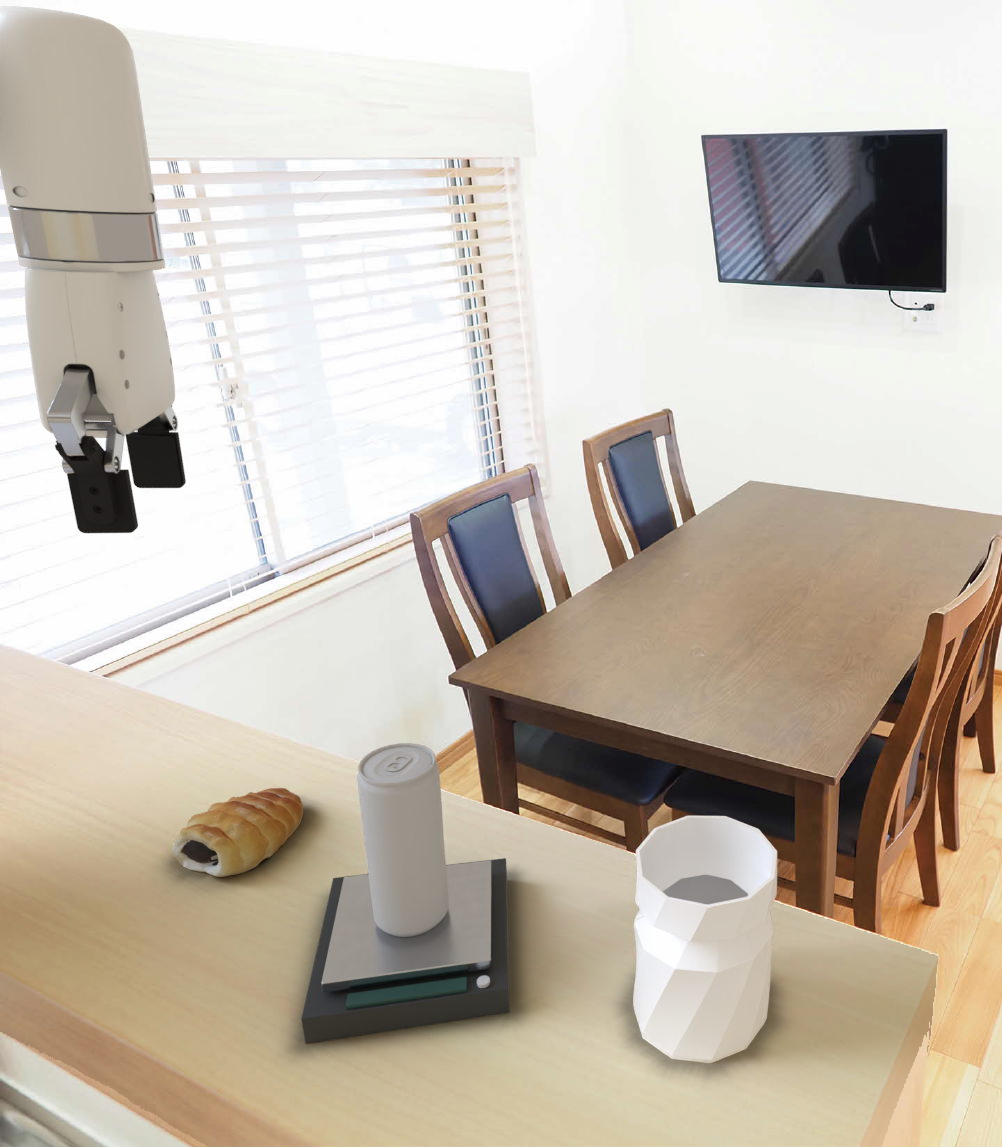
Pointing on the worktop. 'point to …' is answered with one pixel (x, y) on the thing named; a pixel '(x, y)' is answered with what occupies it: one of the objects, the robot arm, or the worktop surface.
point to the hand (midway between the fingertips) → (136, 507)
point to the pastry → (238, 832)
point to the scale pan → (386, 958)
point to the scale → (409, 985)
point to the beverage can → (404, 838)
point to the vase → (703, 936)
